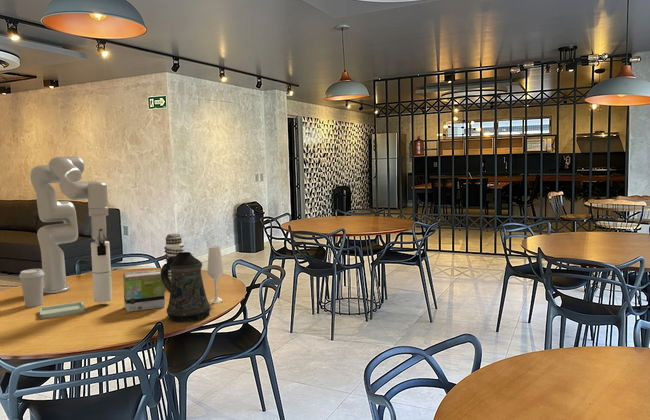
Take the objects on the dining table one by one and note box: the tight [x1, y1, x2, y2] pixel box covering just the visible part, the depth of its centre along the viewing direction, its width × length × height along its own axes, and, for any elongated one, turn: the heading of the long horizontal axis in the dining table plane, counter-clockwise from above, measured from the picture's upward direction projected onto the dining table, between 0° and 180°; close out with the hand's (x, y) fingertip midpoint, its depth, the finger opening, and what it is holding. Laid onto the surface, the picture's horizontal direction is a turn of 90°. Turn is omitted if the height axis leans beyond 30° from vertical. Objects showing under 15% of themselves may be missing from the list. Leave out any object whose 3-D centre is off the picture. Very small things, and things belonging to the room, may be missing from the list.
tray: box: [39, 300, 86, 320], centre depth 204 cm, size 12×16×2 cm
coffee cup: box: [18, 268, 44, 308], centre depth 215 cm, size 10×10×15 cm
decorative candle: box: [164, 233, 185, 281], centre depth 247 cm, size 9×9×25 cm
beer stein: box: [160, 251, 211, 323], centre depth 194 cm, size 16×19×25 cm
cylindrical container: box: [90, 240, 113, 304], centre depth 212 cm, size 7×7×25 cm
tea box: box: [122, 269, 166, 313], centre depth 208 cm, size 15×10×15 cm
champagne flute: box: [206, 245, 224, 302], centre depth 214 cm, size 7×7×24 cm
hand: (100, 253), depth 211 cm, fingers closed on cylindrical container, 7 cm apart
